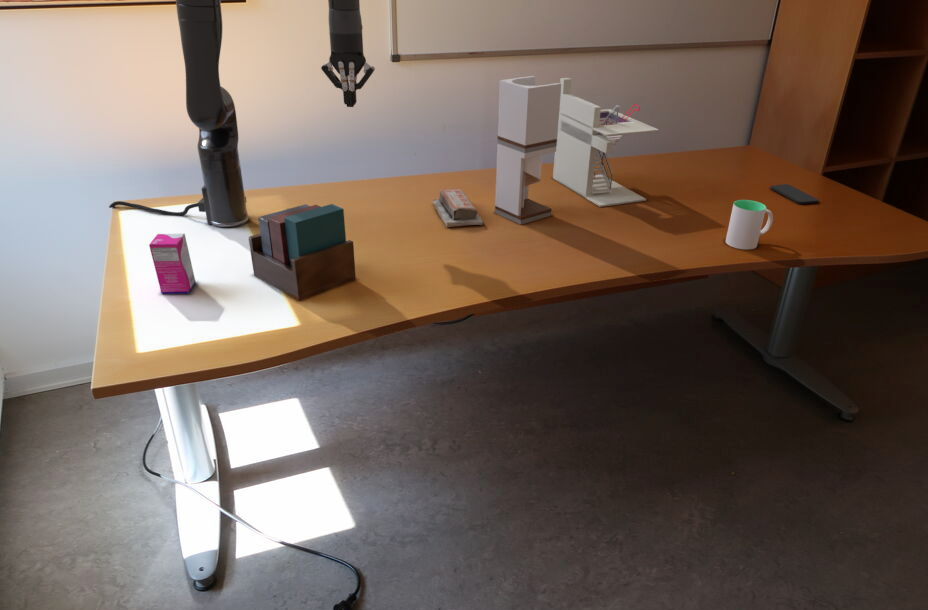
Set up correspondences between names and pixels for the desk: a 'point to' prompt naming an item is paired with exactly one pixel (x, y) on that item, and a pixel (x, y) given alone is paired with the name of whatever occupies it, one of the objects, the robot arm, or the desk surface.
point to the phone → (794, 194)
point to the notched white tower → (524, 144)
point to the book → (314, 230)
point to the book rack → (298, 259)
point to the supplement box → (172, 263)
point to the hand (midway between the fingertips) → (350, 106)
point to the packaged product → (456, 209)
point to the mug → (747, 224)
